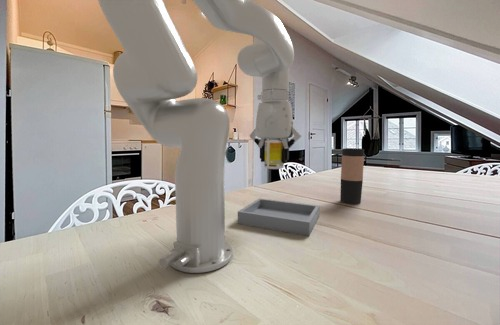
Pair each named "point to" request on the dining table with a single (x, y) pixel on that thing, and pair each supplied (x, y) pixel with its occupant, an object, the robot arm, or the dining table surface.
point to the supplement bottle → (273, 153)
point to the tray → (280, 216)
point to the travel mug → (352, 175)
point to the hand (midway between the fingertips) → (274, 161)
